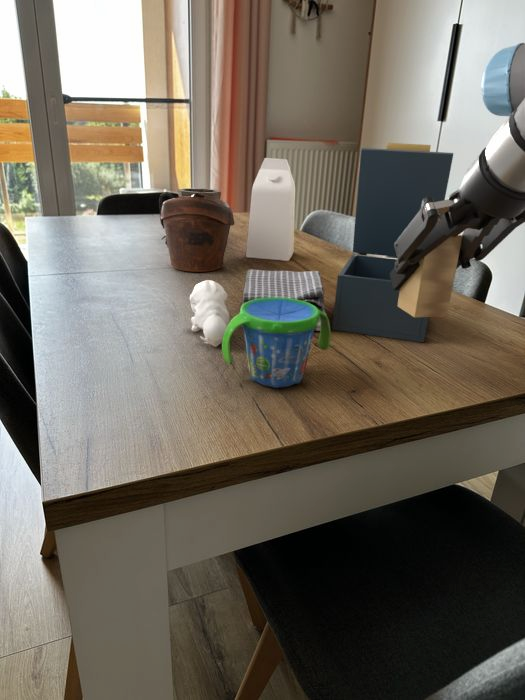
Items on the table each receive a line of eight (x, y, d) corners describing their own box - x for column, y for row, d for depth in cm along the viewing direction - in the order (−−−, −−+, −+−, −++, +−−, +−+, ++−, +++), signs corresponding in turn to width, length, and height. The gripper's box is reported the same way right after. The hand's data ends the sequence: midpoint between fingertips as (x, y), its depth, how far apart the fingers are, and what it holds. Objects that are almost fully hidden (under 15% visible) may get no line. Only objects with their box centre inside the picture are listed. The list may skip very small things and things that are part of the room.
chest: (423, 342, 87) (434, 286, 84) (331, 329, 91) (337, 275, 88) (424, 310, 105) (432, 262, 101) (347, 300, 109) (352, 253, 105)
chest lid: (453, 154, 88) (454, 137, 95) (360, 149, 92) (368, 133, 99) (432, 260, 101) (434, 238, 108) (352, 252, 105) (359, 231, 112)
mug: (222, 236, 171) (223, 189, 165) (218, 244, 159) (218, 193, 153) (164, 233, 171) (162, 186, 166) (154, 240, 159) (153, 190, 153)
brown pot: (209, 255, 143) (210, 188, 136) (247, 271, 128) (250, 197, 121) (148, 260, 133) (145, 189, 127) (181, 279, 118) (180, 198, 111)
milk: (293, 252, 152) (300, 159, 142) (288, 260, 142) (295, 160, 132) (253, 249, 154) (257, 157, 144) (246, 257, 143) (249, 157, 134)
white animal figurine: (225, 276, 87) (239, 303, 77) (224, 322, 91) (236, 353, 81) (188, 276, 86) (197, 304, 76) (188, 323, 90) (196, 355, 80)
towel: (318, 303, 106) (321, 265, 103) (327, 334, 89) (331, 290, 86) (244, 299, 106) (246, 261, 103) (239, 330, 89) (240, 286, 86)
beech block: (428, 305, 75) (441, 228, 70) (447, 316, 70) (462, 235, 66) (397, 306, 73) (408, 228, 69) (414, 317, 69) (428, 235, 65)
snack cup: (232, 401, 65) (234, 325, 61) (212, 367, 74) (212, 299, 70) (343, 388, 70) (351, 317, 66) (311, 358, 79) (317, 294, 75)
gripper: (447, 195, 49) (359, 306, 70) (601, 198, 54) (474, 302, 75) (427, 135, 52) (348, 259, 73) (575, 143, 56) (460, 258, 77)
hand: (412, 281), depth 74 cm, fingers closed on beech block, 5 cm apart
